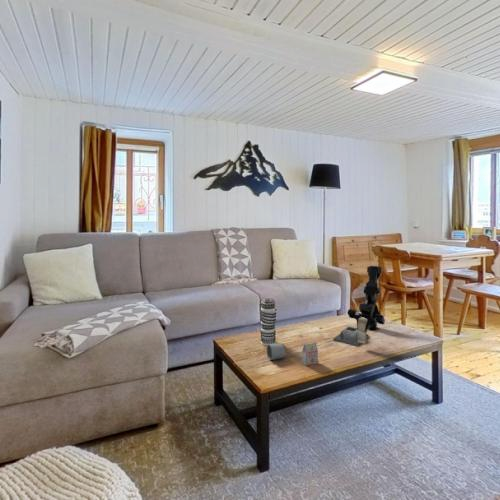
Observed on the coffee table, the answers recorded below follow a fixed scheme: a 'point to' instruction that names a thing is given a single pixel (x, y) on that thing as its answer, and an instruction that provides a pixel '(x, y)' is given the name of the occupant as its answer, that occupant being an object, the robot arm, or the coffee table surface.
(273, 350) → the ceramic mug
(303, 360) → the small box
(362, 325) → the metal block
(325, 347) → the coffee table surface
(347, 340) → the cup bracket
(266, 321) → the decorative candle
